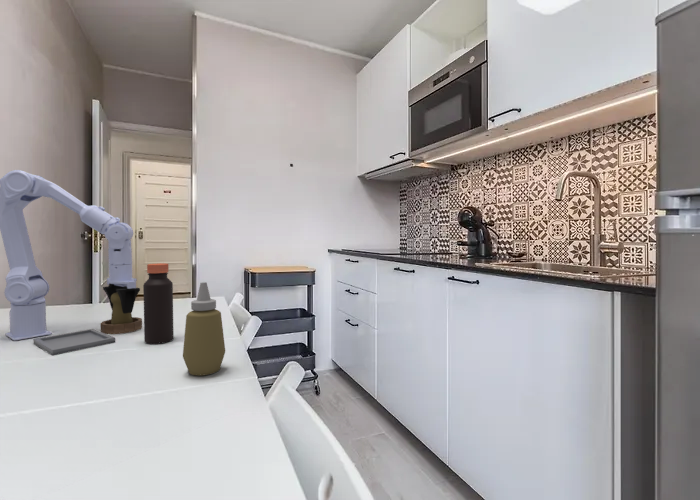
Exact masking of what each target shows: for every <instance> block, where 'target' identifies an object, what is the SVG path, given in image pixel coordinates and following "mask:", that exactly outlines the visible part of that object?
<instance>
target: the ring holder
mask: <svg viewBox="0 0 700 500" xmlns="http://www.w3.org/2000/svg"><path fill="white" fill-rule="evenodd" d="M132 320H133V322H132V323H126V324H117V325H111V318H110V319H107V320H103V321H102V322H100V323H99V325H100V332H102V333H105V334H107V335H121V334H127V333H133V332H134V333H135V332H138V331H139V330H141V329H142V328H143V318H142V317H135V316H134V317H133V316H132Z"/></svg>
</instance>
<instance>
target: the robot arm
mask: <svg viewBox="0 0 700 500" xmlns="http://www.w3.org/2000/svg"><path fill="white" fill-rule="evenodd" d="M42 197H43V198H49V199H50V198H51V199H52V200H54V201H55V202H57V203H59V204H61V205H62V206H64V207H66V208H67V209H69V210H71V211H72V212H74V213H76V214H78V215H79V217H80V221H81V222H82V223H83V224H85V225H87V226H89V227H90V228H91V229H93V230H95V231H97V232H98V233H99V234H101V235H104V237H105V239H106V241H108V249H107V251H108V278H106V284H107V286H102V290H103V291H104V293H106V296H107V299H108V301H109V302H108V303H109V305H110V308H111V310H112V309H113V303H112V302H111V295H112V294H113V293H116V292H117V293H118V295H119V297H120V301H121V306H122V311H123V313H124V314H125V313H131V314H132V312H133V309H134V306H135V301H136V299H137V296H138V294H139V293H140V291H141V288H140V287H137V279H138V278H136V277H135V278H134V277H133V256H132V252H133V251H132V249H133V248H132V238H133V237H134V230H133V228H132V226H130V225H129V223H127V222H122V221H121V218H120V217H115V216H113V215H112V214H110V213H108V212H107V211H105V210H106V208H105V207H104V206H102V205H100V206H98V205H96V204H94V205H93V204H92V205H87V204H85V202H83V201H82V200H80V199H78V198H77V197H76V196H74V195H72V194H71V193H70V192H68V191H67V190H65V189H64V188H62V187H61V186H59V185H58V184H56V183H55V182H52V181H51V180H48V179H46V178H44V177H42V176H41V175H38V174H32V173H30V172H27V171H24V170H21V169H14V170H10V171H8V172H7V173H5V174H4V175H3V176H2V177H1V178H0V234H1V238H2V243H3V247H4V251H5V255H6V258H7V259H6V260H7V263H8V268H9V271H8V273H7V274H6V277H5V282H6V283H5V284H6V285H5V286H6V287H5V289H4V292H3V293H4V296H5V298H6V299H7V301H8V302H10V310H9V332H5V336H7V337H8V338H10V339H11V340H12V341H19V340H25V339H31V338H39V337H45V336H51V335H53V334H52V331H50V330H48V329H47V312H46V311H47V307H46V298H45V296H47V294H48V293H49V291H50V285H49V282H48V280H46V279H45V278H44V276H43V275H44V274H43V272H42V270H41V269H40V268H39V267H38V266H37V265H36V260H35V256H34V252H33V248H32V244H31V240H30V235H29V232H28V227H27V224H26V223H27V222H26V219H25V214H24V210H25V208H26V207H27V206H28V205H29V204H30V203H31V202H34V201H36V200H38V199H40V198H42ZM120 221H121V222H120Z"/></svg>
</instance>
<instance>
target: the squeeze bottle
mask: <svg viewBox="0 0 700 500" xmlns="http://www.w3.org/2000/svg"><path fill="white" fill-rule="evenodd" d="M196 297H197V298H196V299H193V300H192V301H191V302H190V306H191V308H190V309H191V311H189V312H188V313H187V314H186V315H185V317H186V318H185V328H184V338H183V347H182V348H183V349H182V359H183V361H184V363H185V366H186V368H187V371H188V373H189V375H192V376H200V377H201V376H208V375H212V374H215V373H217V372H218V371H220V370H221V366H222V364H223V361H224V357H225V354H226V344H225V336H224V327H223V320H222V312H221V311H220V310H218V309H217V300H216V299H212V298H211V295H210V291H209V286H208V283H207V282H205V281H203V282H200V284H199V288H198V293H197V296H196Z"/></svg>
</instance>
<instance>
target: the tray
mask: <svg viewBox="0 0 700 500" xmlns="http://www.w3.org/2000/svg"><path fill="white" fill-rule="evenodd" d="M114 343H116V337H114V336H112V335H111V334H105V333H102V332H101V330H100V331H99V330H97V329H94V328H89V329H83V330H78V331H77V330H76V331H72V332H71V331H70V332H65V333H61V334H60V333H59V334H54V335H53V334H52V335H47V336H41V337H35V338H33V345H35V346H36V347H38V348H40V349H41V350H43V351H44V352H46V353H48V354H49V355H51V356H55V355H60V354H65V353H70V352H75V351H79V350H84V349H90V348H95V347H99V346H104V345H108V344H109V345H110V344H114Z"/></svg>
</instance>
